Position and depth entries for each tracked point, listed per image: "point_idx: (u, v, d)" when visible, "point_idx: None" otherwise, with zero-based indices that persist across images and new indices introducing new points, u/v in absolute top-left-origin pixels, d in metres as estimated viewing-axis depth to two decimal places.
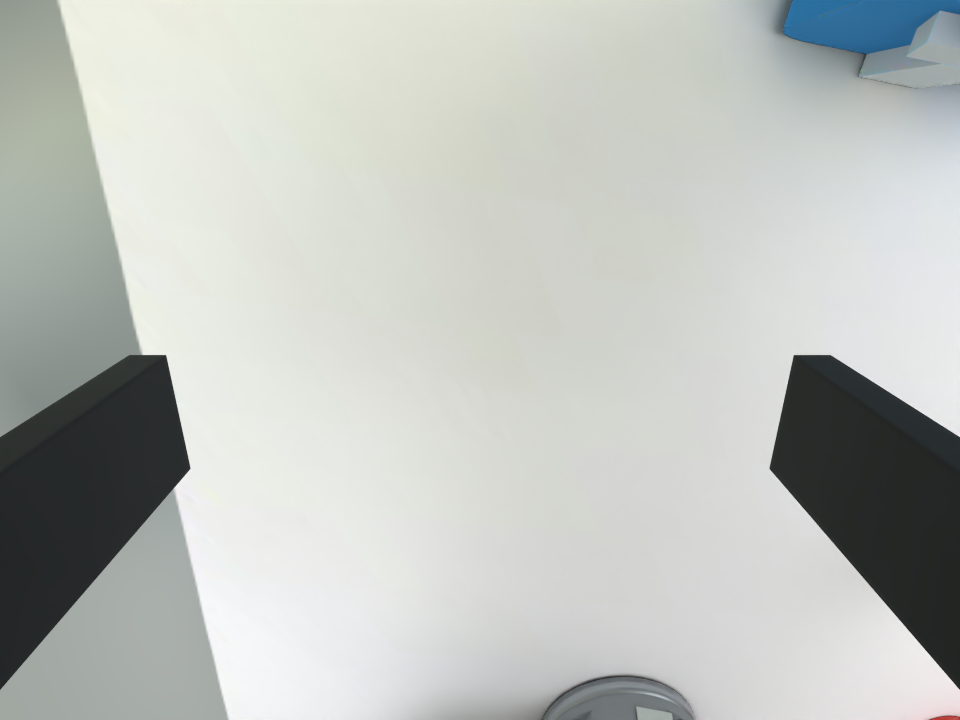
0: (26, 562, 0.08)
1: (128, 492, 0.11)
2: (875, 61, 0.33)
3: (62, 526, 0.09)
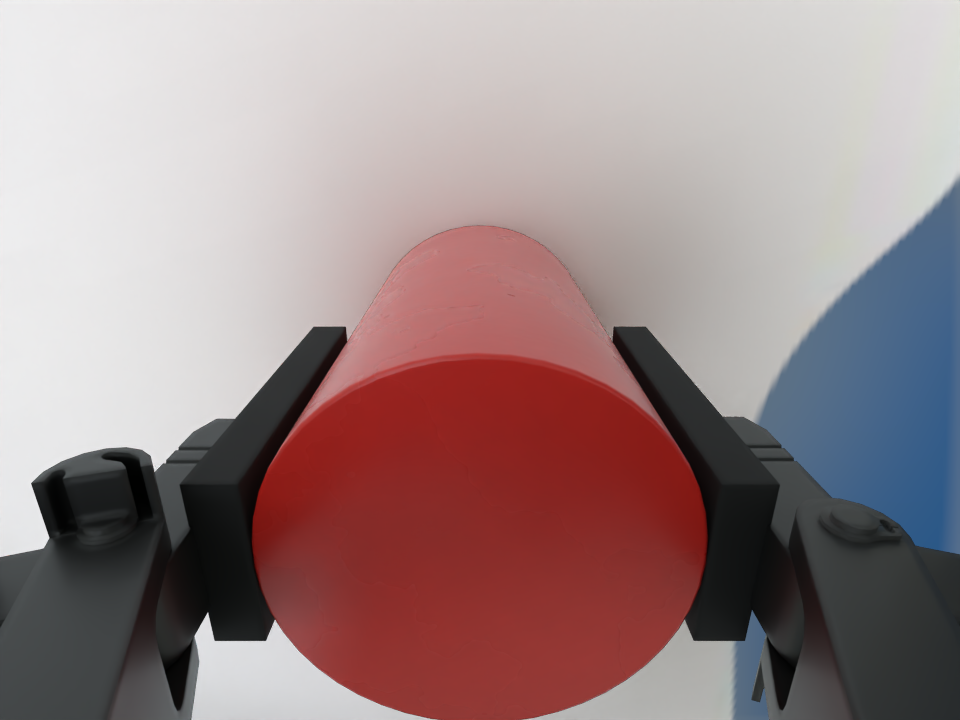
0: None
1: None
2: None
3: None
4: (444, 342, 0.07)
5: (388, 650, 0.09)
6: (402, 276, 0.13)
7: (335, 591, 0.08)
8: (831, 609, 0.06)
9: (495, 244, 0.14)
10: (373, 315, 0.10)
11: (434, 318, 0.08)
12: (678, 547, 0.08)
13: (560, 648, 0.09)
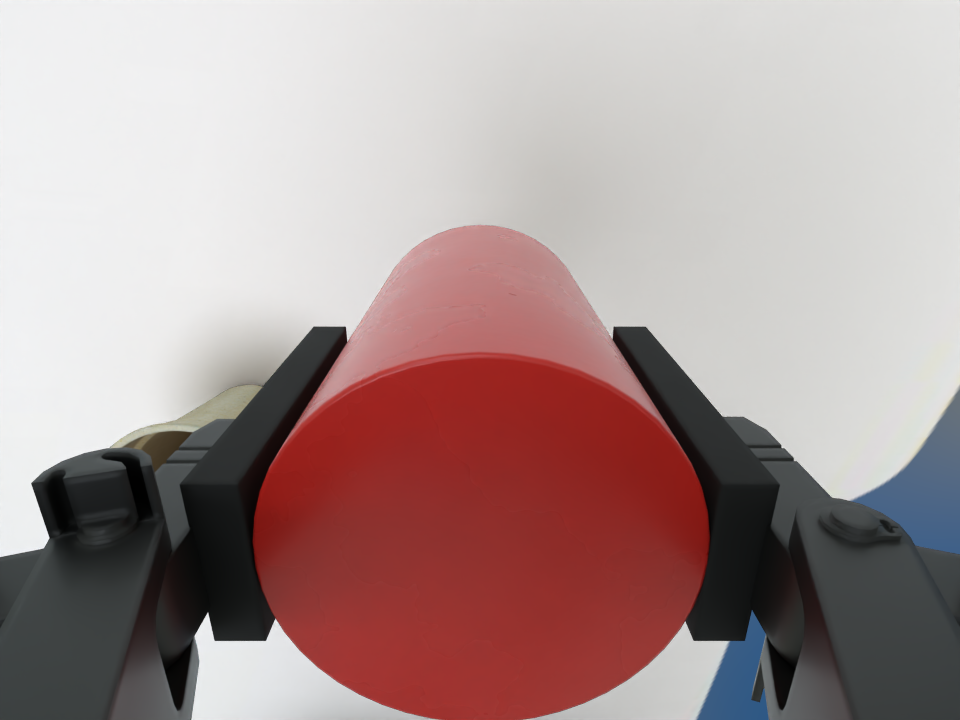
0: None
1: None
2: None
3: None
4: (445, 341, 0.07)
5: (389, 650, 0.09)
6: (403, 275, 0.13)
7: (336, 591, 0.08)
8: (831, 609, 0.06)
9: (496, 243, 0.14)
10: (374, 314, 0.10)
11: (435, 317, 0.08)
12: (680, 547, 0.08)
13: (562, 648, 0.09)
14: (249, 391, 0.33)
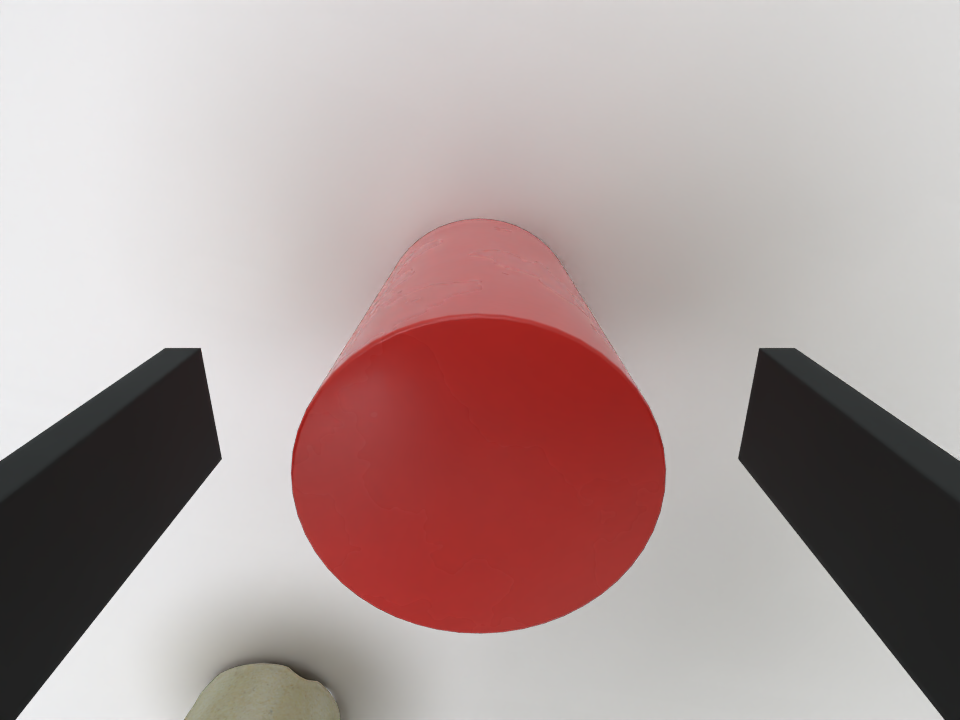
0: (81, 542, 0.09)
1: (168, 479, 0.11)
2: None
3: (112, 509, 0.09)
4: (449, 307, 0.09)
5: (402, 567, 0.10)
6: (410, 261, 0.14)
7: (359, 515, 0.10)
8: None
9: (492, 234, 0.15)
10: (387, 292, 0.12)
11: (440, 290, 0.10)
12: (641, 477, 0.10)
13: (546, 565, 0.10)
14: (276, 690, 0.23)
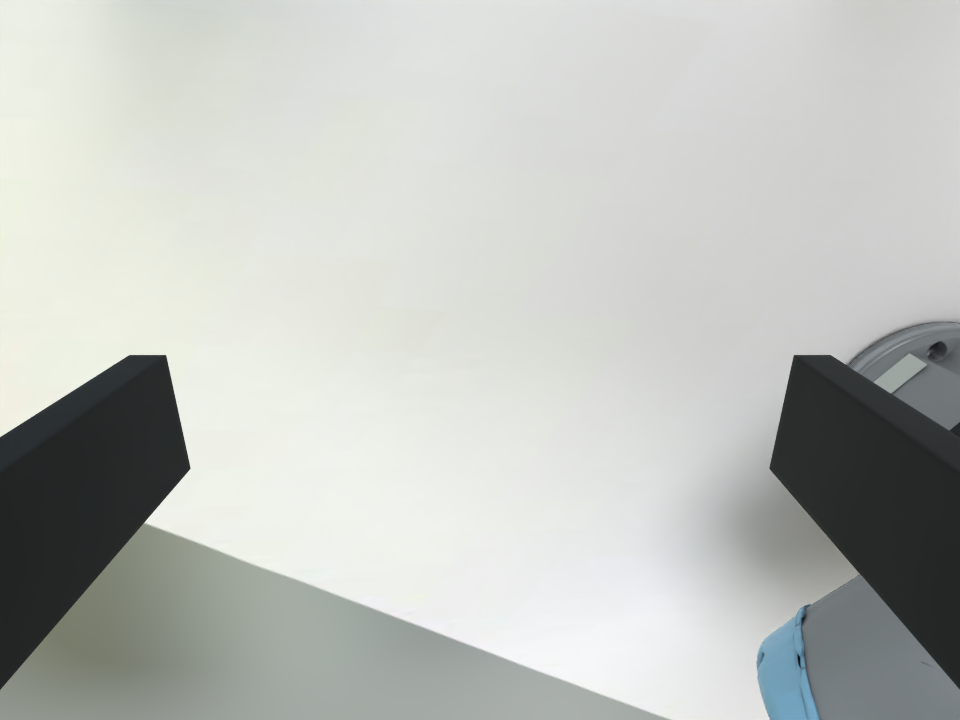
0: (26, 562, 0.08)
1: (128, 492, 0.11)
2: None
3: (62, 526, 0.09)
4: None
5: None
6: None
7: None
8: None
9: None
10: None
11: None
12: None
13: None
14: None
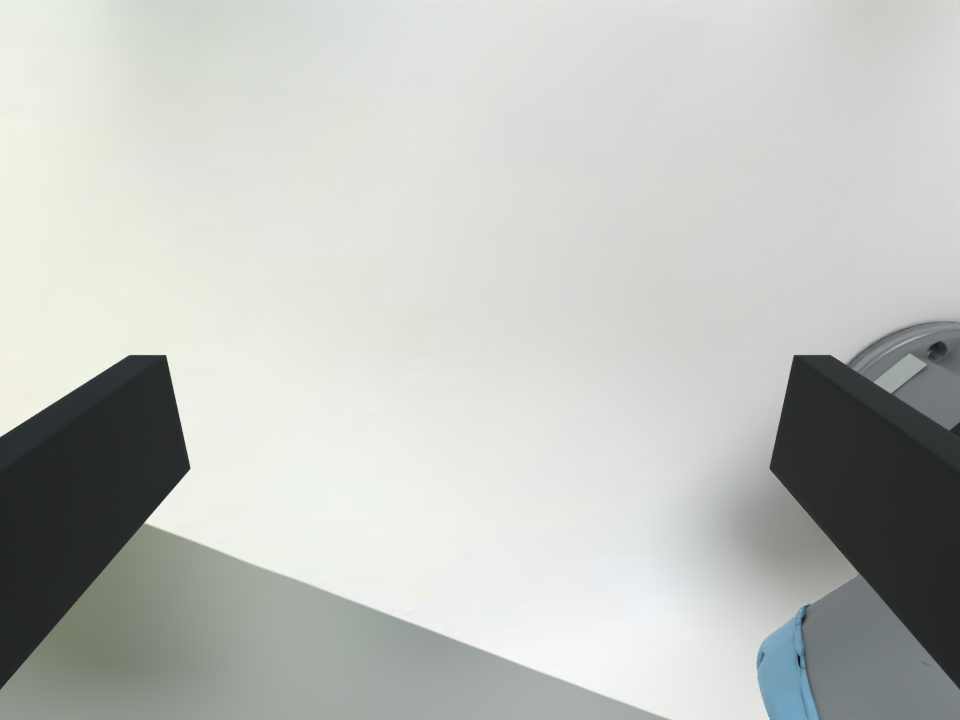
0: (26, 562, 0.08)
1: (128, 492, 0.11)
2: None
3: (62, 526, 0.09)
4: None
5: None
6: None
7: None
8: None
9: None
10: None
11: None
12: None
13: None
14: None
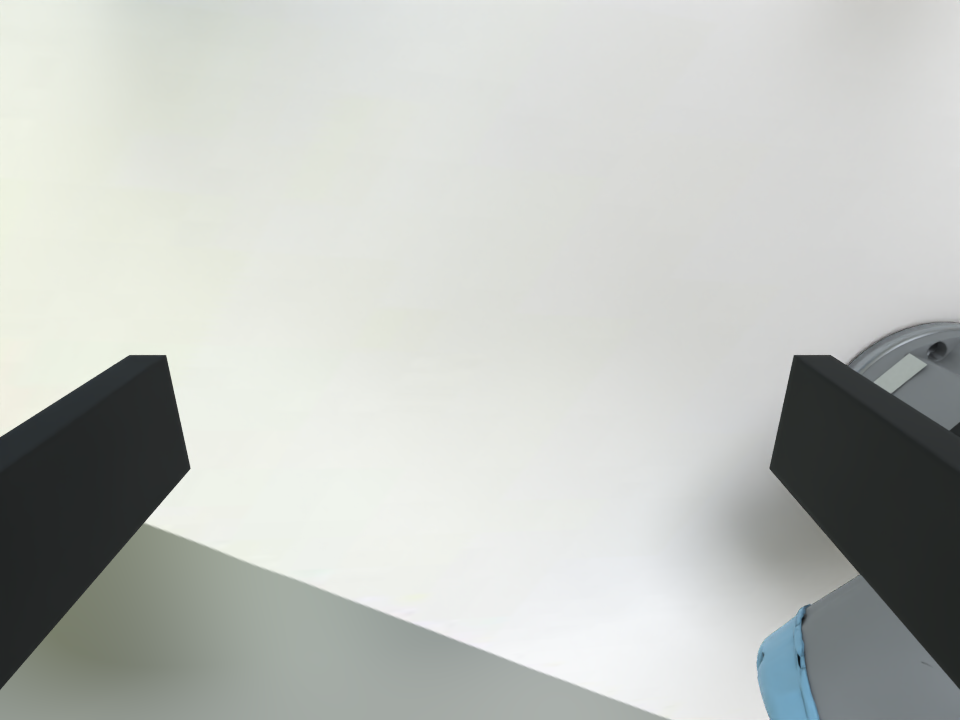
0: (26, 562, 0.08)
1: (128, 492, 0.11)
2: None
3: (62, 526, 0.09)
4: None
5: None
6: None
7: None
8: None
9: None
10: None
11: None
12: None
13: None
14: None
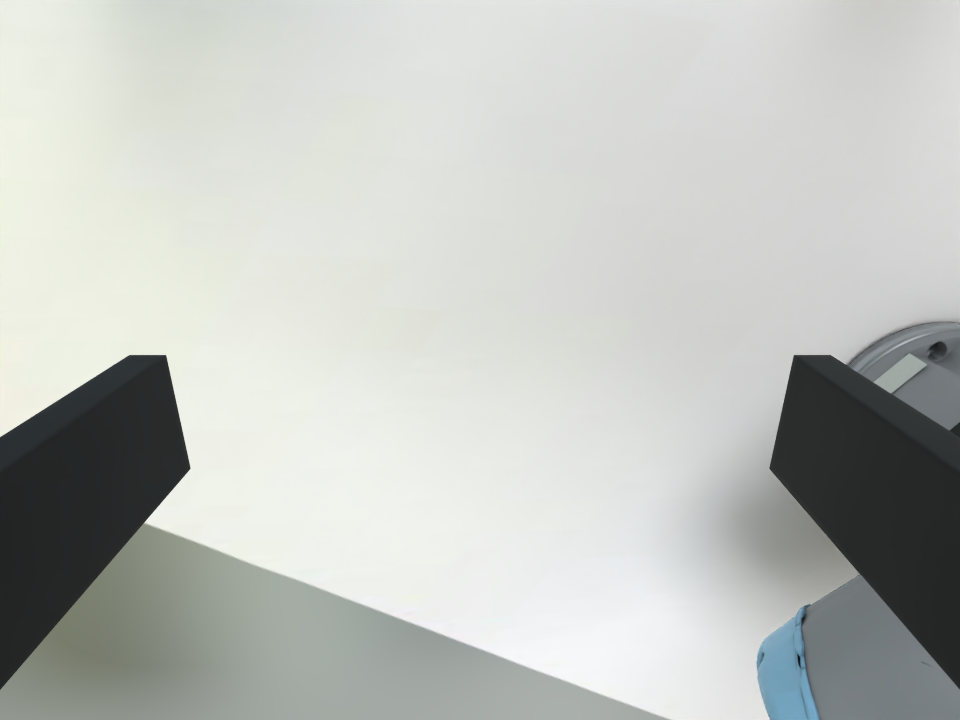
0: (26, 562, 0.08)
1: (128, 492, 0.11)
2: None
3: (62, 526, 0.09)
4: None
5: None
6: None
7: None
8: None
9: None
10: None
11: None
12: None
13: None
14: None
